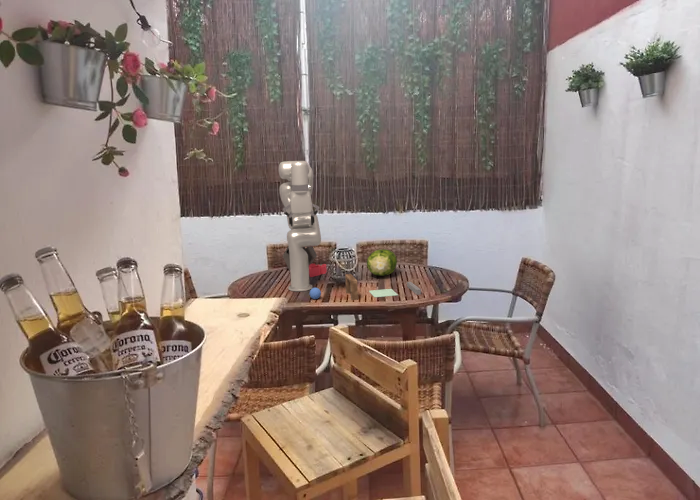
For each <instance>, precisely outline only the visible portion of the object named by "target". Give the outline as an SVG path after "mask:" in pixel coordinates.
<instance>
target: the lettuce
mask: <svg viewBox="0 0 700 500" xmlns="http://www.w3.org/2000/svg"><path fill="white" fill-rule="evenodd" d="M397 264H398V260H397V256H396V254H395V253H394V252H393V251H392V250H390V249H386V248H385V249H384V248H383V249H376V250H375V251H373V252H372V253H370V254H369V256H368V257H367V260H366V266H367V269H368V271H369V272H370V273H371V274H373V275H375V276H380V277H383V276H384V277H385V276H389V275H390V274H393V273H394V271H395V270H396V267H397Z"/></svg>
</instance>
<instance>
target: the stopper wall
mask: <svg viewBox="0 0 700 500" xmlns="http://www.w3.org/2000/svg"><path fill="white" fill-rule="evenodd" d="M406 287H407V288H408V289H410V291H411V292H413V293H415V294H416V296H418V295H419V296H420V295H422V290H421V288H419V286H417V285H416V284H414V283H413V282H412V281H406Z"/></svg>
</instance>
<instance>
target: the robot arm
mask: <svg viewBox="0 0 700 500" xmlns="http://www.w3.org/2000/svg"><path fill="white" fill-rule="evenodd" d="M278 174H279V177H280V178H281V179H282V180H287V181H288V182H283V183H281V184H280V185H279V197H280V200H281V202H282V203H281V204H282V205H283V207H282V211H283V213H284V214H285V215H286V218H287V225H288V228H289V231H288V232H287V234H286V241H287V245H288V246H287V247H289V255H290V271H289V272H290V285H288V290H289V291H291V292H305V291H310V290H311V289H312V288H313V284H310V275H309V267H308V255H307V253H306V251H305V250H304V249H303V247H305V248H307V247H309V246H313V247H317V246H319V245H320V244H321V242H322V235H321V230H320V228H321V227H320V224H319V218H318V215H317V214H318V212H319V211H320V208H321V207H320V206H318V205H317V204H314V203H313V202H312V194H313V187H314V186H313V185H314V171H313V168H312V167H311V166H310V164H309V163H308V162H307V161H306V160H289V161H287V160H285V161H282V162H280V163H279V165H278ZM313 208H315V209H314V211H313Z"/></svg>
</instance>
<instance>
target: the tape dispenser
mask: <svg viewBox="0 0 700 500" xmlns="http://www.w3.org/2000/svg"><path fill="white" fill-rule="evenodd" d="M327 270H328V269H327V264H325V263H323V264H316V263H312V264H310V265H309V278H314V277H317V276H321V275H324V274H327V273H328V271H327ZM326 272H327V273H326Z"/></svg>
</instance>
